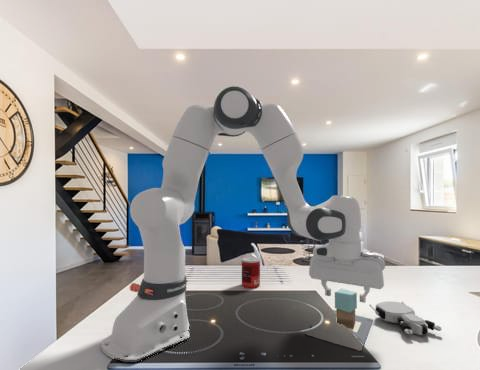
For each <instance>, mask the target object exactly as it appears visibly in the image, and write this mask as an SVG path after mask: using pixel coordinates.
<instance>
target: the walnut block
mask: <svg viewBox="0 0 480 370" xmlns="http://www.w3.org/2000/svg"><path fill="white" fill-rule="evenodd" d="M335 310H336V323H339V324H343V325H345V326H346V327H347V328H351V329H354V326H355V315H356V309H355V310H354V311H352V312H351V313H349V312H346V311H343V310H340V309H337V308H335Z"/></svg>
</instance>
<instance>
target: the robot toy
mask: <svg viewBox="0 0 480 370" xmlns="http://www.w3.org/2000/svg"><path fill="white" fill-rule="evenodd" d="M369 307H370V308H371V310H373V311H374V312H375V314H376V315H377V316H378V317H379V318H381V319H382V320H383V321H384V322H387V323H393V324H399V325H400V329H401V330H402V332H403V333H405V334H408V335H419V336H423V335H426V336H427V335H428V333H429V330H431V331H434V330H435V331H438V332H440V331H442V330H443V329H442V327H441V326H440V325H436V323H435V322H433V321H431V320H427V319H426V320H425V319H423V317H421V316H418V315H416V313H415V310H414V309H413V307H410V306H409V305H407V304H406V303H404V301H400V302H398V301H381V302H378V303H376V305H375V307H374V306H373V305H371V303H370V304H369Z"/></svg>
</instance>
